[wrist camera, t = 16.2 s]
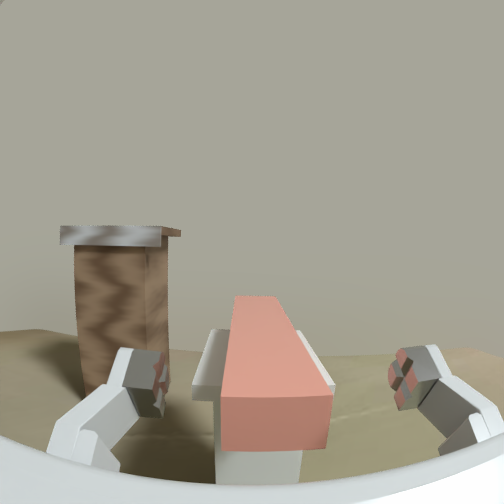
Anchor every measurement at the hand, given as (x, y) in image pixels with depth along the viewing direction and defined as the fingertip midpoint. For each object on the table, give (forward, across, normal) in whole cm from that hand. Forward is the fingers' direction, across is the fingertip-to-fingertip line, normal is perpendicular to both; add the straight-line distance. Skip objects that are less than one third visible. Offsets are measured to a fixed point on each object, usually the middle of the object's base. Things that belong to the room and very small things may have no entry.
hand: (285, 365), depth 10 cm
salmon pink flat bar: (+8, 0, +9) cm, 12 cm away
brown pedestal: (+19, +18, +33) cm, 42 cm away
